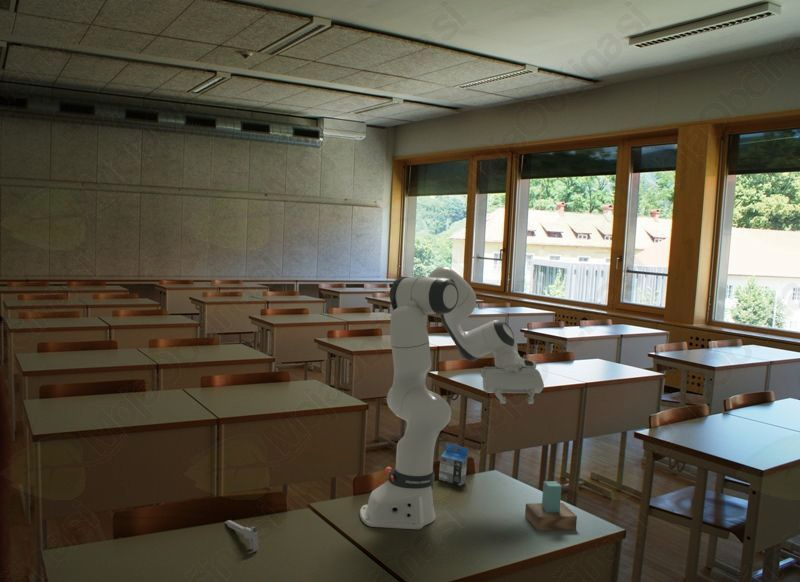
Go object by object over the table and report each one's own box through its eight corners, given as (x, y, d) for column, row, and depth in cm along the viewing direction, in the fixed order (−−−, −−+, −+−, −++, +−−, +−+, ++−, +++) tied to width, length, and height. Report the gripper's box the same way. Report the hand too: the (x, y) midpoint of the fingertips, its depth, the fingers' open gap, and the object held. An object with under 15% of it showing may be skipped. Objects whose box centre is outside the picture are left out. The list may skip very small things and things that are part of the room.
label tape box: (438, 480, 234) (440, 445, 233) (444, 477, 237) (446, 442, 236) (460, 486, 229) (462, 450, 228) (466, 483, 232) (468, 448, 231)
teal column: (546, 512, 200) (548, 486, 200) (541, 507, 204) (543, 481, 203) (559, 512, 201) (561, 486, 200) (554, 506, 205) (556, 481, 204)
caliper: (258, 552, 174) (259, 529, 174) (253, 553, 174) (255, 530, 173) (228, 523, 191) (229, 501, 191) (224, 524, 190) (225, 502, 190)
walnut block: (537, 530, 197) (538, 517, 196) (525, 516, 207) (525, 503, 206) (576, 529, 199) (576, 516, 199) (561, 515, 209) (562, 502, 209)
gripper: (481, 361, 224) (489, 397, 215) (540, 362, 228) (549, 398, 219) (477, 371, 229) (484, 407, 220) (534, 372, 232) (543, 408, 224)
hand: (517, 402), depth 219 cm, fingers open, 8 cm apart
